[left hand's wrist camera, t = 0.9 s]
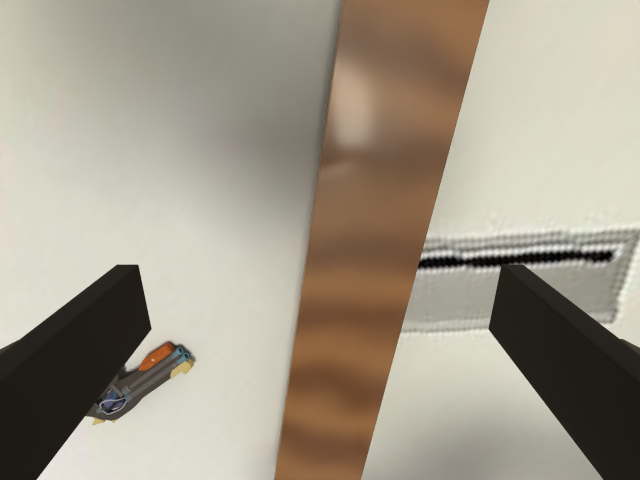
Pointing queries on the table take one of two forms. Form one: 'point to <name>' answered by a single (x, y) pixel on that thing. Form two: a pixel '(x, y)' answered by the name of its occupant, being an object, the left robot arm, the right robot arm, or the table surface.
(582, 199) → the table surface
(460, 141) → the table surface
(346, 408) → the slab
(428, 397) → the table surface
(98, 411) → the toy gun
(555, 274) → the table surface
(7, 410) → the left robot arm
